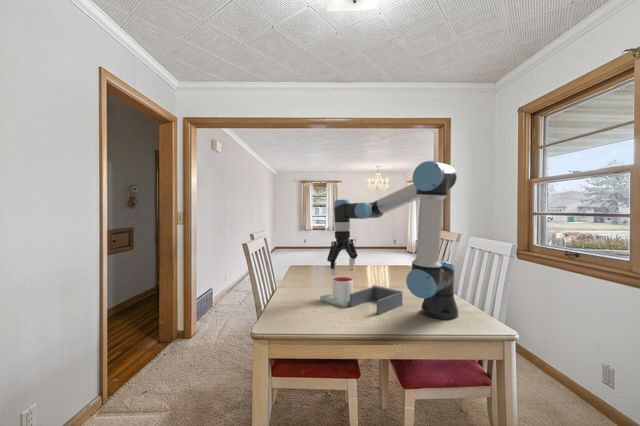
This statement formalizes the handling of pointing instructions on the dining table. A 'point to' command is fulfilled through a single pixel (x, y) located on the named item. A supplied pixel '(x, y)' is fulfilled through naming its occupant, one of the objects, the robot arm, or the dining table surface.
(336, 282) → the cup
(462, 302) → the dining table surface
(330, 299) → the tray
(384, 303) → the bay
